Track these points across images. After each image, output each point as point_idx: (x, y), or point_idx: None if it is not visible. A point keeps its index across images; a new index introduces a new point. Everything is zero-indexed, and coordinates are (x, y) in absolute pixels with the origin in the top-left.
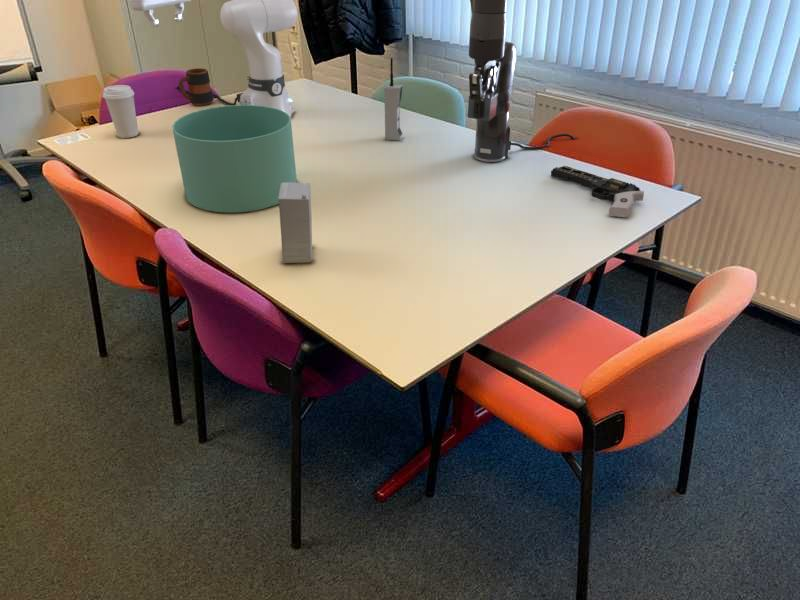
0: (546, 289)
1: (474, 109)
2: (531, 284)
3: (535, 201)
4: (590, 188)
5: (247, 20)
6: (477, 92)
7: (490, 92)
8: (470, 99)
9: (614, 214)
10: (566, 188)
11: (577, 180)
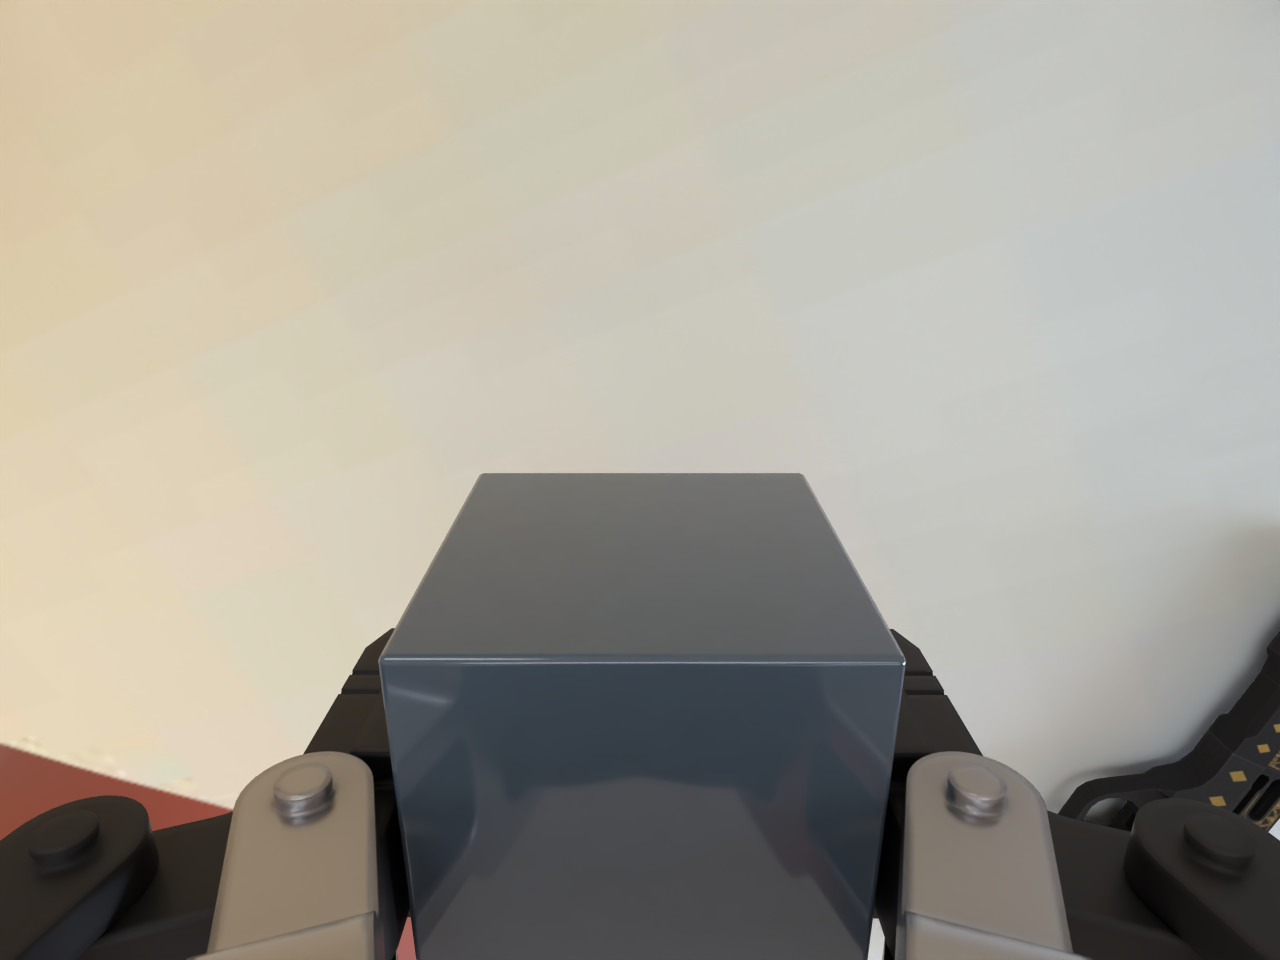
0: (186, 786)
1: (342, 694)
2: (185, 735)
3: (970, 556)
4: (1183, 760)
5: None
6: (775, 733)
7: (886, 951)
8: (64, 811)
9: None
10: (1187, 650)
11: (1251, 705)
